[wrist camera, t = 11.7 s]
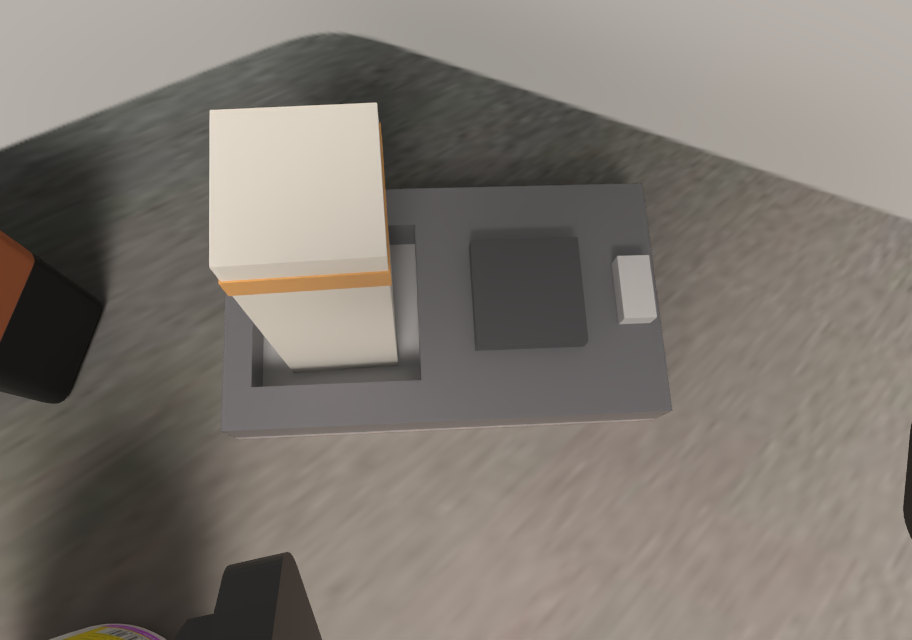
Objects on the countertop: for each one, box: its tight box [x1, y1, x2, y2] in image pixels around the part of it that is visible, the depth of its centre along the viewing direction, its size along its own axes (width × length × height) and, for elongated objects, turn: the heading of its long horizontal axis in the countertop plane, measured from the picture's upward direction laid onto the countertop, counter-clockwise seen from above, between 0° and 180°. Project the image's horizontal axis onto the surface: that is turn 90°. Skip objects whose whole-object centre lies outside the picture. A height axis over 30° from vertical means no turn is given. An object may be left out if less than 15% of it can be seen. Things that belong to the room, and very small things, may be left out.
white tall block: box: [209, 103, 398, 373], centre depth 23 cm, size 4×4×12 cm
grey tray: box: [221, 183, 672, 439], centre depth 28 cm, size 16×9×3 cm, turn 93°
